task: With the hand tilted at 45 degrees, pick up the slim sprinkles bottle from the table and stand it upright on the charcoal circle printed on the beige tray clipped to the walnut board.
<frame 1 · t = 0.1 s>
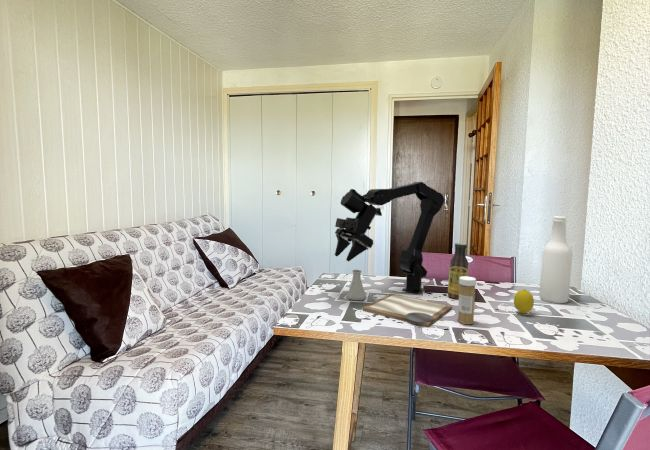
hand: (341, 258, 124), 15 cm above the table, tool tilted 35°, fingers open, 9 cm apart
beige tray: (407, 309, 116), on the table
lemon: (522, 314, 113), on the table
alcohol: (553, 300, 128), on the table
sprinkles bottle: (465, 322, 106), on the table
sauce bottle: (456, 297, 130), on the table
flask: (356, 298, 128), on the table
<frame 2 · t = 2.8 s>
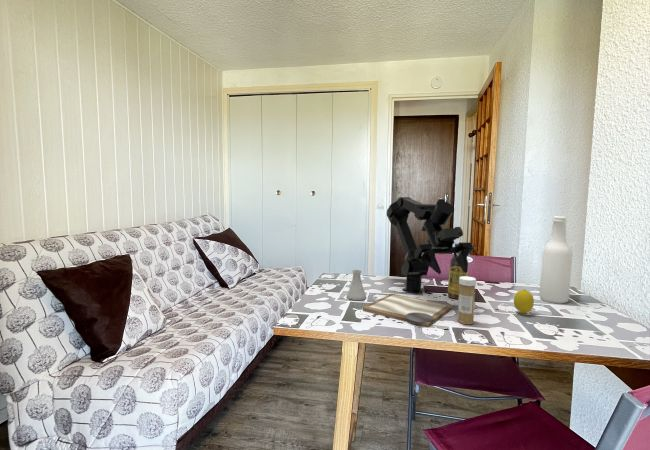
hand: (453, 272, 112), 13 cm above the table, tool tilted 45°, fingers open, 9 cm apart
nothing on the table moved.
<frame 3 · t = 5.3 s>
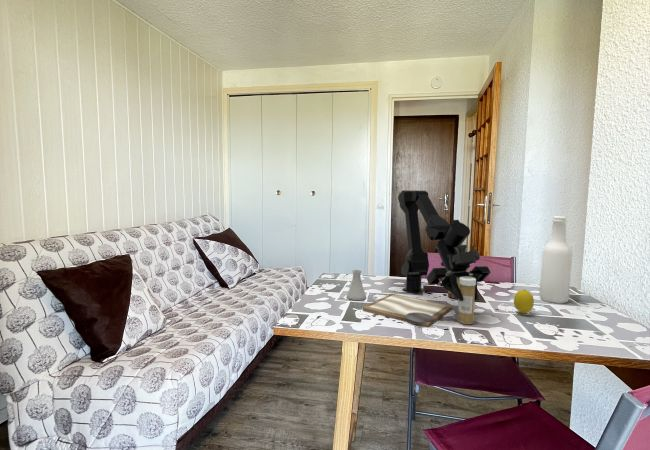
hand: (469, 300, 104), 7 cm above the table, tool tilted 45°, fingers closed on sprinkles bottle, 4 cm apart
sprinkles bottle: (465, 322, 106), on the table, touching gripper
everything else where it was.
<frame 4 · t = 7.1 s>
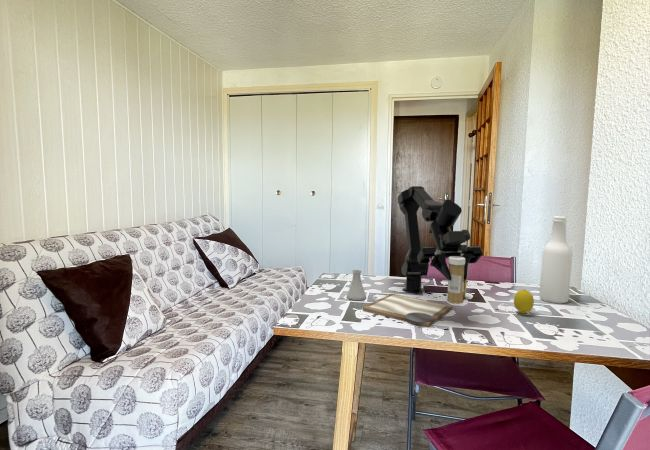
hand: (458, 279, 103), 13 cm above the table, tool tilted 45°, fingers closed on sprinkles bottle, 4 cm apart
sprinkles bottle: (454, 302, 105), point 6 cm above the table, touching gripper
everything else where it was.
when the fingers open (9 cm above the table, at t = 9.2 s): sprinkles bottle stays where it is, resting on beige tray.
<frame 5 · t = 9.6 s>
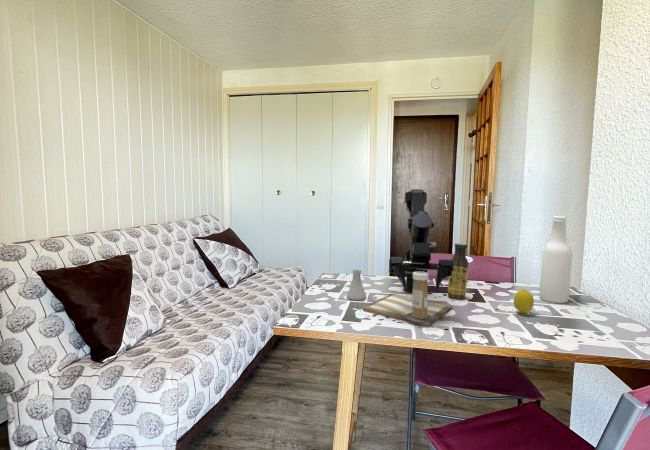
hand: (420, 291, 104), 10 cm above the table, tool tilted 45°, fingers open, 9 cm apart
sprinkles bottle: (419, 317, 106), point 1 cm above the table, touching beige tray
everything else where it was.
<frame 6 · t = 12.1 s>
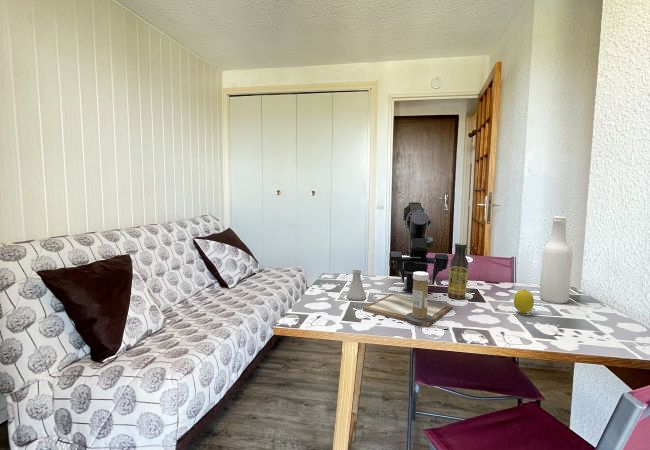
hand: (418, 282, 113), 10 cm above the table, tool tilted 45°, fingers open, 9 cm apart
nothing on the table moved.
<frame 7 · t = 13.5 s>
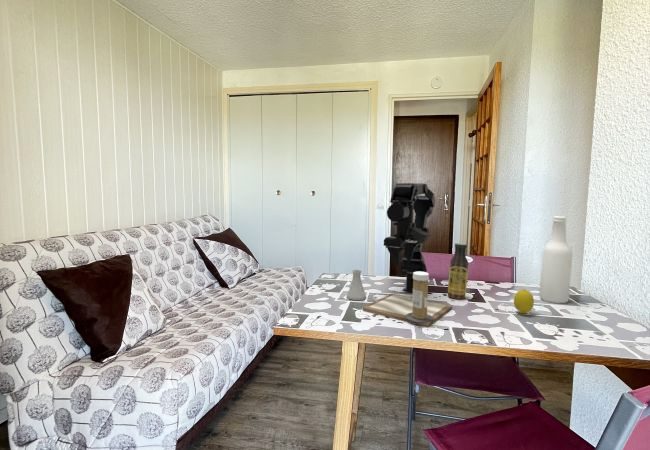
hand: (403, 264, 125), 13 cm above the table, tool pointing down, fingers open, 9 cm apart
nothing on the table moved.
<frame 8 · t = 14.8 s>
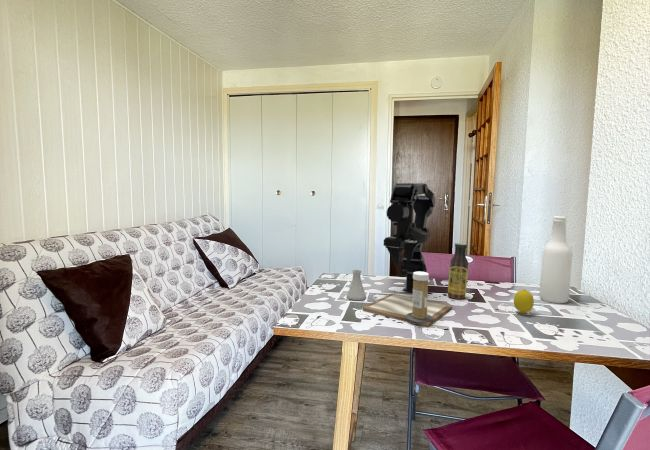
hand: (403, 264, 125), 13 cm above the table, tool pointing down, fingers open, 9 cm apart
nothing on the table moved.
at the end: sprinkles bottle inside the target area (0.2 cm from its centre), point 1.0 cm above the table; sprinkles bottle tilted 0°; the gripper is holding nothing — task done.
